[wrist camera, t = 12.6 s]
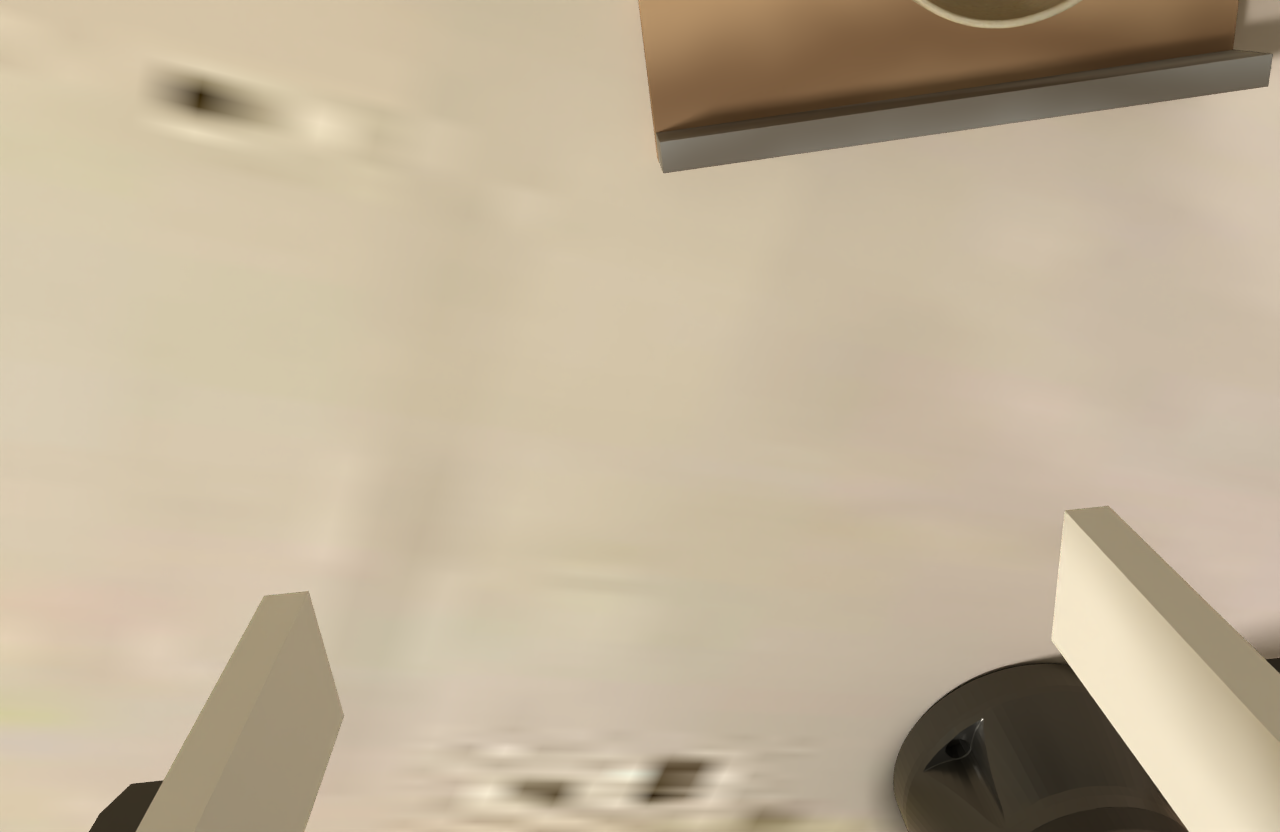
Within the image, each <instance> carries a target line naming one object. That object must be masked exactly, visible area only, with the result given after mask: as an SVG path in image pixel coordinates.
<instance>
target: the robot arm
mask: <svg viewBox="0 0 1280 832" xmlns="http://www.w3.org/2000/svg"><path fill="white" fill-rule="evenodd" d="M1051 640H1052V642H1053V643H1054V644H1055V646H1056V647H1057V649H1058V650H1059V651H1060V653H1061V654H1062V656H1063V657H1064V658H1065V660H1066V661H1067V662H1068V664H1069V665H1062V664H1033V665H1024V666H1018V667H1013V668H1008V669H1004V670H1001V671H997V672H994V673H991V674H988V675H985V676H983V677H980V678H978V679H975V680H973V681H971V682H969V683H967V684H965V685H963V686H962V687H960V688H958V689H956V690H955V691H953V692H952V693H950V694H948V695H947V696H946V697H944V698H943V699H941V700H940V701H939V702H938V703H936V704H935V705H934V706H933V707H932V708H931V709H930V710H928V711H927V712H926V713H925V714H924V715H923V716H922V717H921V719H920V720H919V721H918V722H917V723H916V724H915V726H914V727H913V728H912V730H911V731H910V733H909V734H908V736H907V737H906V739H905V741H904V743H903V745H902V747H901V749H900V752H899V754H898V757H897V760H896V764H895V769H894V781H893V783H894V793H895V797H896V801H897V804H898V807H899V809H900V812H901V814H902V817H903V820H904V822H905V825H906V827H907V830H908V832H1280V658H1276V659H1267V660H1265V659H1264V658H1263V657H1262V656H1261V655H1260V654H1259V653H1258V652H1257V651H1256V650H1255V649H1254V648H1253V647H1252V646H1251V645H1250V644H1249V643H1248V642H1247V641H1246V640H1245V639H1244V638H1243V637H1242V636H1241V635H1240V634H1239V633H1238V632H1237V631H1236V630H1235V629H1234V628H1233V627H1232V626H1231V625H1230V624H1229V623H1228V622H1227V621H1226V620H1225V619H1223V618H1222V617H1221V616H1220V615H1219V614H1218V613H1217V612H1216V611H1215V610H1214V609H1213V608H1212V607H1211V606H1210V605H1209V604H1208V603H1207V602H1206V601H1205V600H1204V599H1203V598H1202V597H1201V596H1200V595H1199V594H1198V593H1197V592H1196V591H1195V590H1194V589H1193V588H1192V587H1191V586H1190V585H1189V584H1188V583H1187V582H1186V581H1185V580H1184V579H1183V578H1182V577H1181V576H1180V575H1179V574H1178V573H1177V572H1176V571H1175V570H1173V569H1172V568H1171V567H1170V566H1169V565H1168V564H1167V563H1166V562H1165V561H1164V560H1163V559H1162V558H1161V557H1160V556H1159V555H1158V554H1157V553H1156V552H1155V551H1154V550H1153V549H1152V548H1151V547H1150V546H1149V545H1148V544H1147V543H1146V542H1145V541H1144V540H1143V539H1142V538H1141V537H1140V536H1139V535H1138V534H1137V533H1136V532H1135V531H1134V530H1133V529H1132V528H1131V527H1130V526H1129V525H1128V524H1127V523H1126V522H1124V521H1123V520H1122V519H1121V518H1120V517H1119V516H1118V515H1117V514H1116V513H1115V512H1114V511H1113V510H1112V509H1111V508H1110V507H1109V506H1103V507H1094V508H1084V509H1075V510H1066V511H1065V513H1064V522H1063V532H1062V542H1061V551H1060V561H1059V571H1058V581H1057V590H1056V600H1055V610H1054V619H1053V629H1052V639H1051ZM343 718H344V714H343V711H342V707H341V704H340V700H339V697H338V693H337V689H336V686H335V682H334V679H333V675H332V672H331V668H330V665H329V661H328V658H327V654H326V651H325V647H324V644H323V640H322V637H321V633H320V630H319V626H318V623H317V619H316V616H315V612H314V608H313V605H312V601H311V598H310V594H309V591H306V592H296V593H287V594H278V595H268V596H264V597H263V599H262V601H261V603H260V605H259V606H258V608H257V610H256V612H255V614H254V616H253V617H252V619H251V621H250V623H249V625H248V627H247V628H246V630H245V632H244V634H243V636H242V638H241V639H240V641H239V643H238V645H237V647H236V649H235V650H234V652H233V654H232V656H231V658H230V660H229V661H228V663H227V665H226V667H225V669H224V671H223V672H222V674H221V676H220V678H219V680H218V682H217V683H216V685H215V687H214V689H213V691H212V693H211V694H210V696H209V698H208V700H207V702H206V704H205V705H204V707H203V709H202V711H201V713H200V715H199V716H198V718H197V720H196V722H195V724H194V726H193V727H192V729H191V731H190V733H189V735H188V737H187V738H186V740H185V742H184V744H183V746H182V748H181V749H180V751H179V753H178V755H177V757H176V759H175V760H174V762H173V764H172V766H171V768H170V770H169V771H168V773H167V775H166V777H165V779H164V780H163V781H154V782H145V783H136V784H131V785H130V786H128V787H127V788H126V789H125V790H124V791H123V792H122V793H121V794H120V795H119V796H118V797H117V798H116V799H115V800H114V801H113V802H112V803H111V804H110V805H109V806H108V807H106V808H105V809H104V810H103V811H102V812H101V813H100V814H99V816H98V818H97V819H96V821H95V823H94V824H93V826H92V828H91V829H90V831H89V832H304V831H305V828H306V825H307V822H308V819H309V817H310V814H311V811H312V808H313V805H314V802H315V799H316V796H317V793H318V790H319V787H320V785H321V782H322V779H323V776H324V773H325V770H326V767H327V764H328V761H329V758H330V755H331V752H332V750H333V747H334V744H335V741H336V738H337V735H338V732H339V729H340V726H341V723H342V720H343Z"/></svg>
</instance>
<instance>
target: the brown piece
mask: <svg viewBox="0 0 1280 832" xmlns="http://www.w3.org/2000/svg"><path fill="white" fill-rule="evenodd" d="M638 2H639V10H640V18H641V27H642V35H643V43H644V51H645V59H646V68H647V76H648V84H649V92H650V101H651V109H652V117H653V125H654V134H655V142H656V150H657V158H658V161H659V163H660V166H661V168H662V171H663V173H669V172H676V171H683V170H690V169H697V168H704V167H711V166H718V165H725V164H731V163H738V162H745V161H752V160H759V159H766V158H773V157H780V156H787V155H794V154H801V153H808V152H815V151H822V150H829V149H836V148H843V147H850V146H857V145H864V144H870V143H877V142H884V141H891V140H898V139H905V138H912V137H919V136H926V135H933V134H940V133H947V132H954V131H961V130H968V129H975V128H982V127H989V126H996V125H1003V124H1009V123H1016V122H1023V121H1030V120H1037V119H1044V118H1051V117H1058V116H1065V115H1072V114H1079V113H1086V112H1093V111H1100V110H1107V109H1114V108H1121V107H1128V106H1135V105H1142V104H1149V103H1155V102H1162V101H1169V100H1176V99H1183V98H1190V97H1197V96H1204V95H1211V94H1218V93H1225V92H1232V91H1239V90H1246V89H1253V88H1260V87H1267V86H1268V84H1269V77H1270V70H1271V63H1272V56H1273V54H1269V53H1259V52H1249V51H1240V50H1233V44H1234V36H1235V28H1236V20H1237V12H1238V4H1239V0H1082V1H1081V2H1079V3H1078V4H1076V5H1075V6H1073V7H1071V8H1069V9H1067V10H1065V11H1063V12H1061V13H1059V14H1057V15H1055V16H1052V17H1050V18H1047V19H1044V20H1042V21H1039V22H1036V23H1032V24H1028V25H1024V26H1018V27H1012V28H979V27H972V26H967V25H963V24H959V23H955V22H953V21H950V20H947V19H945V18H942V17H940V16H938V15H936V14H934V13H932V12H930V11H928V10H927V9H925V8H923V7H922V6H920V5H919V4H917V3H916V2H914V1H913V0H638Z"/></svg>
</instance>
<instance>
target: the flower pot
mask: <svg viewBox="0 0 1280 832" xmlns="http://www.w3.org/2000/svg"><path fill="white" fill-rule="evenodd" d="M913 1H914V2H916V3H917V4H919V5H920V6H922V7H923V8H925V9H927V10H928V11H930V12H932V13H934V14H936V15H938V16H940V17H942V18H945V19H947V20H950V21H953V22H955V23H959V24H963V25H967V26H972V27H979V28H1012V27H1018V26H1024V25H1028V24H1032V23H1036V22H1039V21H1042V20H1044V19H1047V18H1050V17H1052V16H1055V15H1057V14H1059V13H1061V12H1063V11H1065V10H1067V9H1069V8H1071V7H1073V6H1075V5H1076V4H1078V3H1079V2H1081V1H1082V0H913Z"/></svg>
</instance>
